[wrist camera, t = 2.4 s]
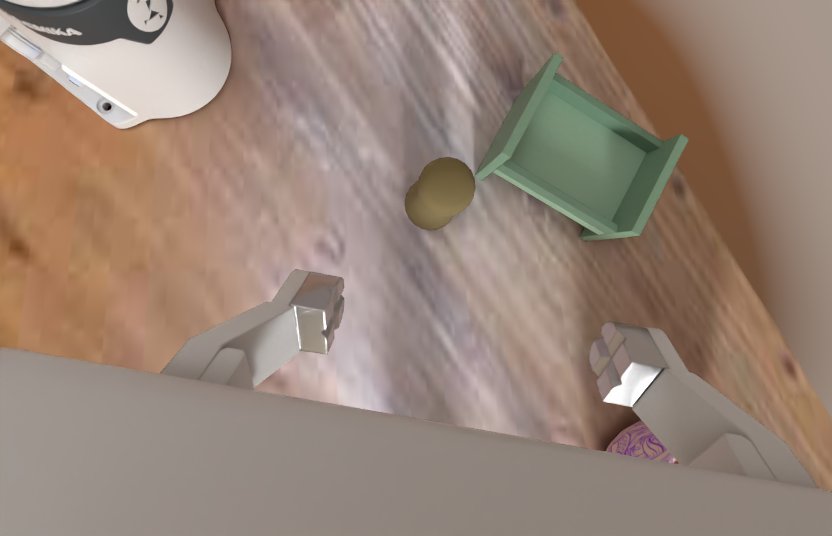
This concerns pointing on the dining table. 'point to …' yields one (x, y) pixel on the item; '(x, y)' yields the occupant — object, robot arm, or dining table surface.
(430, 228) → the olive tall rounded piece
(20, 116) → the dining table surface
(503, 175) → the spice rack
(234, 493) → the robot arm
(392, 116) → the dining table surface
